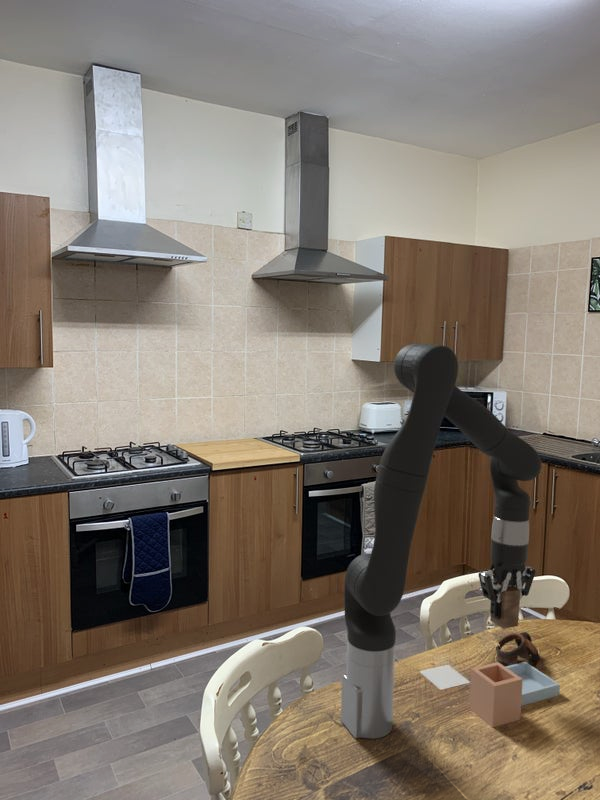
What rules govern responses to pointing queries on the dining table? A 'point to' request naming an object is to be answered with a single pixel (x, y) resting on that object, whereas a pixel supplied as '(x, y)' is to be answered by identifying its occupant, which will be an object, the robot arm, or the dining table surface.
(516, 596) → the walnut block
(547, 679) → the blue-grey tub
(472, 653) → the dining table surface
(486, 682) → the terracotta pot
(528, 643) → the dark brown looped piece
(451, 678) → the ceramic tile
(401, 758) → the dining table surface
